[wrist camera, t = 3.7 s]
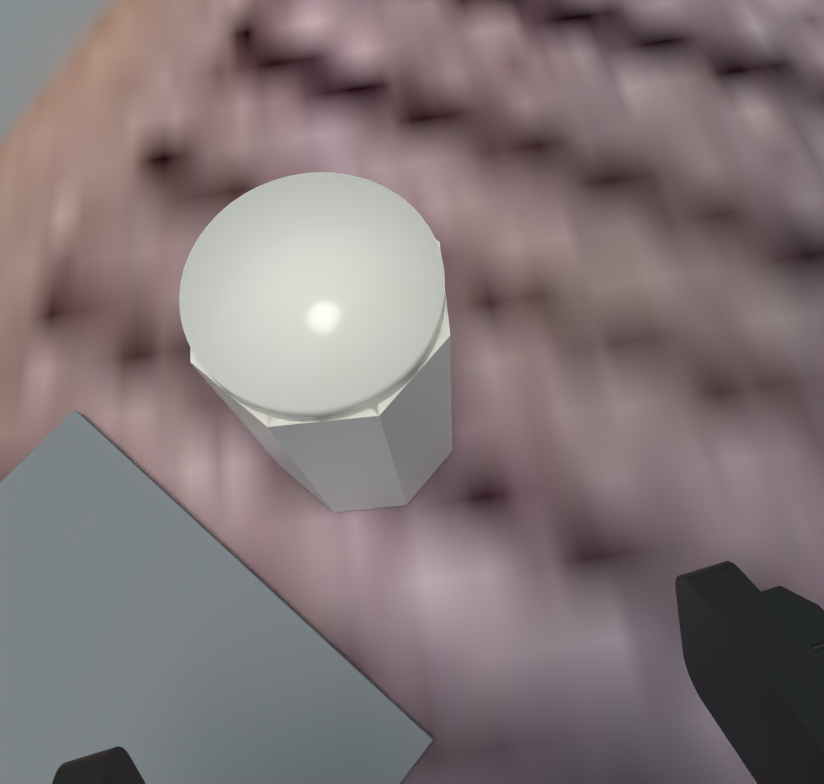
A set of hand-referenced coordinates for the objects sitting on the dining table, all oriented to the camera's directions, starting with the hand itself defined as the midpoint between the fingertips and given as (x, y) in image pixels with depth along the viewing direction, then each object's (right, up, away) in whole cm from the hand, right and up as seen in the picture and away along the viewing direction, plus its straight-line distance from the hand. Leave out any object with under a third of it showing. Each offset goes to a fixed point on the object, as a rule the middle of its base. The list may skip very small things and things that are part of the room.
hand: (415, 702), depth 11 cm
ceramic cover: (-2, +3, +15) cm, 15 cm away
